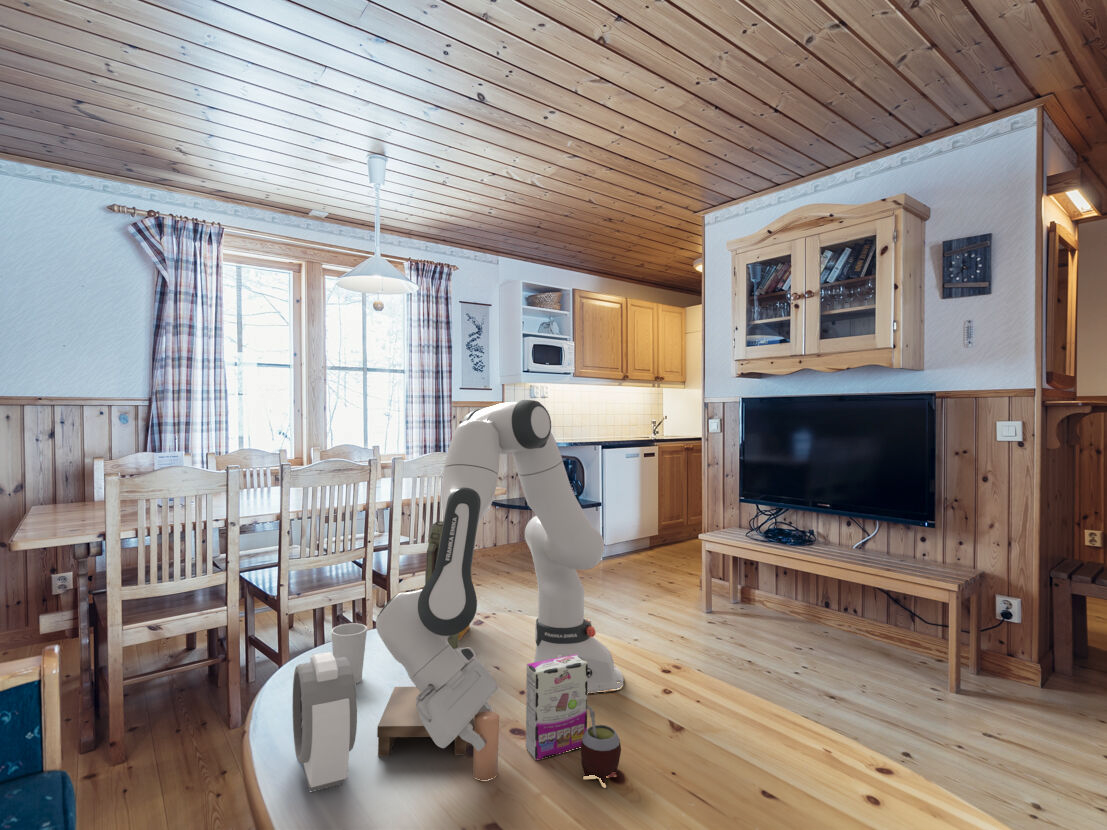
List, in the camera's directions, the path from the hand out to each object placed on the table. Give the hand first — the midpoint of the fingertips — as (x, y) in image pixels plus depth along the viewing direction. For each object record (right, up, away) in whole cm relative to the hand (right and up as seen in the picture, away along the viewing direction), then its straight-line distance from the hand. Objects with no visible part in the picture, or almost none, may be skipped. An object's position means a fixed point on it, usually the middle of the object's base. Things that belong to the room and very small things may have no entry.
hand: (489, 738), depth 106 cm
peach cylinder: (-1, -6, 0) cm, 6 cm away
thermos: (-18, -6, +50) cm, 54 cm away
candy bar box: (+12, -7, +9) cm, 16 cm away
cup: (-37, -6, +36) cm, 52 cm away
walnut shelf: (-14, -6, +12) cm, 19 cm away
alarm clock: (-29, -6, 0) cm, 30 cm away
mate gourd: (+19, -7, -1) cm, 21 cm away
